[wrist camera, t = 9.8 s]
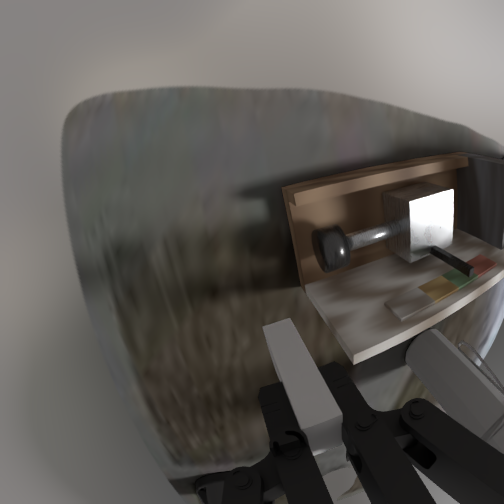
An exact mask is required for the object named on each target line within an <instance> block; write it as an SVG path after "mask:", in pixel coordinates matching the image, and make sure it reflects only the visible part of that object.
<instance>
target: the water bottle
mask: <svg viewBox="0 0 504 504" xmlns="http://www.w3.org/2000/svg"><path fill="white" fill-rule="evenodd" d="M461 344H463V345H465V346H467V347H468V348H470V349H471V350H472V351H473V352H474V353H475V354H476V356H477V357H478V358H479V359H480V361H481V362H482V363H483V364H484V366H485V367H486V368H487V369H488V371H489V372H490V373H491V374H492V376H493V377H494V379H495V380H496V381H497V383H498V384H499V385H500V387H501V388H502V389H501V388H500V387H499V386H498V385H497V384H496V383H495V382H494V381H493V380H492V379H491V378H490V377H489V376H487V374H486V373H485V372H483V370H482V369H480V368H479V367H478V366H477V365H476V364H475V363H474V362H473V361H472V360H471V359H470V358H469V357H468V356H467V355H466V354H465V353H464V352H462V351H461V349H460V345H461ZM458 349H459V350H458ZM458 349H457V348H456V347H455V346H454V345H453V344H452V343H451V342H450V341H449V340H448V339H446V338H445V337H444V336H443V335H442V334H441V333H440V332H439V331H438V330H437V329H429V330H425V331H424V332H422V333H421V334H419V335H418V336H417V337H416V338H415V339H414V340H413V341H412V342H411V344H410V346H409V348H408V349H407V351H406V358H405V362H406V363H407V364H408V366H409V367H410V368H411V369H412V370H413V372H414V373H415V374H416V375H417V377H418V378H419V379H420V380H421V381H422V383H423V384H424V385H425V386H426V388H427V389H428V390H429V391H430V392H431V394H432V395H433V396H434V397H435V399H436V400H437V401H438V403H439V404H440V405H441V406H442V408H443V409H444V410H445V411H446V413H447V414H448V415H449V416H450V417H451V418H453V419H454V420H455V421H457V422H458V423H460V424H461V425H462V426H464V427H465V428H467V429H468V430H470V431H471V432H472V433H474V434H475V435H477V436H478V437H480V438H481V439H482V440H484V441H485V442H487V443H488V444H490V445H491V446H492V447H494V448H495V449H497V450H498V451H500V452H501V453H503V454H504V397H503V395H504V387H503V385H502V384H501V383H500V381H499V380H498V379H497V377H496V376H495V375H494V373H493V372H492V371H491V369H490V368H489V367H488V366H487V364H486V363H485V361H484V360H483V359H482V358H481V356H480V355H479V354H478V353H477V351H476V350H475V349H474V348H473V347H472V346H471V345H469V344H468V343H466V342H464V341H461V342H459V343H458ZM491 383H492V384H491ZM494 386H495V387H496V388H497V389H498V390H499V391H501V393H502V394H503V395H502V394H501V393H500V392H499V391H498V390H497V389H496V388H495V387H494Z"/></svg>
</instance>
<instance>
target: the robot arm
mask: <svg viewBox="0 0 504 504" xmlns="http://www.w3.org/2000/svg"><path fill="white" fill-rule="evenodd" d="M263 331H264V334H265V338H266V341H267V344H268V348H269V351H270V355H271V358H272V361H273V364H274V367H275V370H276V372H277V375H278V378H279V381H280V382H278V383H275V384H271V385H268V386H265V387H262V388H260V392H259V396H258V398H259V402H260V405H261V409H262V413H263V416H264V420H265V423H266V427H267V430H268V434H269V437H270V442H269V445H270V452H269V454H268V455H267V456H266V457H265V458H264V459H263V460H261V461H260V462H258V463H256V464H255V465H253V466H251V467H244V466H243V467H237V468H235V469H233V470H231V471H230V472H223V473H216V474H211V475H207V476H204V477H202V478H200V479H198V480H197V481H196V483H195V484H196V492H197V494H198V496H199V498H200V500H201V502H202V504H275V499H277V498H279V497H280V496H282V495H284V494H286V497H287V500H288V503H289V504H333V501H332V499H331V497H330V494H329V492H328V490H327V487H326V485H325V482H324V480H323V478H322V475H321V473H320V470H319V468H318V466H317V463H316V461H315V458H314V455H317V454H320V453H323V452H325V451H328V450H330V449H333V448H335V447H338V446H340V445H342V444H343V442H344V444H345V446H346V448H347V450H346V459H347V461H349V460H350V462H351V464H352V466H353V468H354V470H355V471H356V474H357V476H358V478H359V480H360V482H361V484H362V486H363V488H364V490H365V492H366V493H367V496H368V498H369V500H370V502H371V504H436V502H435V501H434V499H433V498H432V496H431V494H430V493H429V491H428V489H427V488H426V486H425V485H424V483H423V481H422V480H421V478H420V477H419V475H418V474H417V472H416V470H415V469H414V467H413V466H412V465H414V466H415V467H416V468H417V469H418V470H419V471H421V472H422V473H423V474H424V475H425V476H427V477H428V478H429V479H430V480H431V481H433V482H434V483H435V484H436V485H437V486H439V487H440V488H441V489H442V490H443V491H445V492H446V493H447V494H448V495H450V496H451V497H452V498H453V499H455V500H456V501H457V502H459V503H460V504H504V454H503V453H501V452H500V451H498V450H497V449H495V448H494V447H492V446H491V445H490V444H488V443H487V442H485V441H484V440H482V439H481V438H480V437H478V436H477V435H475V434H474V433H472V432H471V431H470V430H468V429H467V428H465V427H464V426H462V425H461V424H460V423H458V422H457V421H455V420H454V419H453V418H451V417H450V416H448V415H447V414H446V413H444V412H443V411H441V410H440V409H439V408H437V407H436V406H434V405H433V404H432V403H430V402H429V401H427V400H425V399H422V398H415V399H411V400H410V401H408V402H407V403H406V404H405V405H404V406H403V408H401V409H397V410H392V411H386V412H381V411H376V410H374V409H372V408H371V407H370V406H369V405H368V404H367V403H366V401H365V400H364V398H363V396H362V395H361V393H360V392H359V390H358V389H357V387H356V386H355V384H354V383H353V381H352V380H351V378H350V376H349V375H348V373H347V372H346V370H345V369H344V367H343V366H341V365H340V364H338V363H336V362H335V361H334V362H332V363H329V364H327V365H324V366H321V367H319V368H317V366H316V365H315V363H314V361H313V359H312V357H311V355H310V354H309V352H308V350H307V348H306V346H305V344H304V343H303V341H302V339H301V337H300V335H299V333H298V332H297V330H296V328H295V326H294V324H293V323H292V321H291V319H290V318H288V319H285V320H282V321H279V322H276V323H273V324H270V325H266V326H263Z"/></svg>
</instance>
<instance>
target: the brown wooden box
mask: <svg viewBox="0 0 504 504" xmlns="http://www.w3.org/2000/svg"><path fill="white" fill-rule="evenodd" d="M423 182H428V183H432V184H436V185H440V186H443V187H447V188H450V189H453V238H452V245H451V246H448V247H446V248H444V249H443V250H445V251H447V252H448V253H450V254H452V255H454V256H456V257H457V258H459V259H461V260H463V261H464V262H466V263H468V264H469V265H471V266H473V267H474V273H473V275H472V276H471V277H468V276H466V275H465V274H463V273H461V272H460V271H458V270H457V269H455V268H453V267H452V266H450V265H449V264H447V263H445V262H444V261H442V260H440V259H439V258H437V257H435V256H434V255H432V254H431V255H428V256H426V257H424V258H421V259H419V260H417V261H414V262H412V263H409V262H408V261H406V260H405V259H403V258H402V257H400V256H399V255H397V254H395V253H394V252H392V251H391V250H389V249H388V248H386V239H385V240H382V241H379V242H376V243H373V244H370V245H367V246H364V247H361V248H358V249H355V250H352V251H350V255H351V259H350V264H349V265H348V266H347V267H344V268H341V269H338V270H335V271H332V272H329V273H325V272H323V270H322V269H321V268H320V266H319V264H318V262H317V259H316V257H315V254H314V250H313V246H312V231H313V230H315V229H319V228H322V227H326V226H329V225H332V224H337V225H338V226H340V227H341V229H342V230H343V232H344V234H345V235H346V234H350V233H353V232H356V231H359V230H362V229H366V228H369V227H372V226H375V225H379V224H382V223H385V218H384V206H383V195H382V192H386V191H390V190H394V189H398V188H402V187H406V186H411V185H415V184H419V183H423ZM281 189H282V193H283V198H284V202H285V207H286V212H287V216H288V221H289V226H290V231H291V236H292V241H293V246H294V251H295V256H296V261H297V267H298V272H299V277H300V283H301V287H302V289H303V290H304V291H305V293H306V294H307V296H308V297H309V299H310V300H311V302H312V303H313V305H314V306H315V308H316V309H317V311H318V312H319V314H320V315H321V317H322V318H323V319H324V321H325V322H326V324H327V325H328V327H329V328H330V330H331V331H332V333H333V334H334V336H335V337H336V339H337V340H338V342H339V343H340V345H341V346H342V348H343V350H344V351H345V353H346V354H347V356H348V357H349V359H350V360H351V362H352V363H353V365H354V364H357V363H359V362H361V361H364V360H366V359H368V358H370V357H372V356H375V355H377V354H379V353H381V352H383V351H385V350H387V349H389V348H391V347H393V346H395V345H397V344H399V343H401V342H403V341H405V340H407V339H409V338H411V337H413V336H415V335H416V334H418V333H420V332H422V331H424V330H425V329H427V328H429V327H431V326H432V325H434V324H436V323H438V322H439V321H441V320H443V319H444V318H446V317H447V316H449V315H451V314H452V313H454V312H455V311H457V310H459V309H460V308H462V307H463V306H465V305H466V304H468V303H469V302H471V301H472V300H474V299H475V298H477V297H478V296H479V295H481V294H482V293H484V292H485V291H486V290H488V289H489V288H490V287H492V286H493V285H495V284H496V283H497V282H498V281H500V280H501V279H502V278H504V160H502V159H497V158H492V157H487V156H482V155H477V154H471V153H465V152H455V153H448V154H441V155H434V156H428V157H422V158H416V159H410V160H404V161H399V162H393V163H388V164H383V165H377V166H372V167H367V168H363V169H358V170H353V171H348V172H344V173H339V174H334V175H330V176H326V177H321V178H317V179H313V180H308V181H304V182H300V183H296V184H292V185H288V186H284V187H281Z"/></svg>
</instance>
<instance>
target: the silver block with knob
mask: <svg viewBox="0 0 504 504" xmlns="http://www.w3.org/2000/svg"><path fill="white" fill-rule="evenodd" d="M382 195H383V206H384V218H385V223H382V224H379V225H375V226H372V227H369V228H366V229H362V230H359V231H356V232H353V233H350V234H346V235H345V234H344V232H343V230H342V229H341V227H340V226H338V225H337V224H332V225H329V226H326V227H322V228H319V229H315V230H313V231H312V246H313V250H314V254H315V257H316V259H317V262H318V264H319V266H320V268H321V269H322V270H323V272H325V273H329V272H332V271H335V270H338V269H341V268H344V267H347V266H348V265H349V264H350V259H351V255H350V251H352V250H355V249H358V248H361V247H364V246H367V245H370V244H373V243H376V242H379V241H382V240H385V239H386V248H388V249H389V250H391V251H392V252H394V253H395V254H397V255H399V256H400V257H402V258H403V259H405V260H406V261H408V262H409V263H412V262H414V261H417V260H419V259H421V258H424V257H426V256H428V255H431V254H432V255H434V256H435V257H437V258H439V259H440V260H442V261H444V262H445V263H447V264H449V265H450V266H452V267H453V268H455V269H457V270H458V271H460V272H461V273H463V274H465V275H466V276H468V277H471V276H472V275H473V273H474V267H473V266H471V265H469V264H468V263H466V262H464V261H463V260H461V259H459V258H457V257H456V256H454V255H452V254H450V253H448V252H447V251H445V250H443V249H444V248H446V247H448V246H451V245H452V238H453V189H450V188H447V187H443V186H440V185H436V184H432V183H428V182H423V183H419V184H415V185H411V186H406V187H402V188H398V189H394V190H390V191H386V192H382Z"/></svg>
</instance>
